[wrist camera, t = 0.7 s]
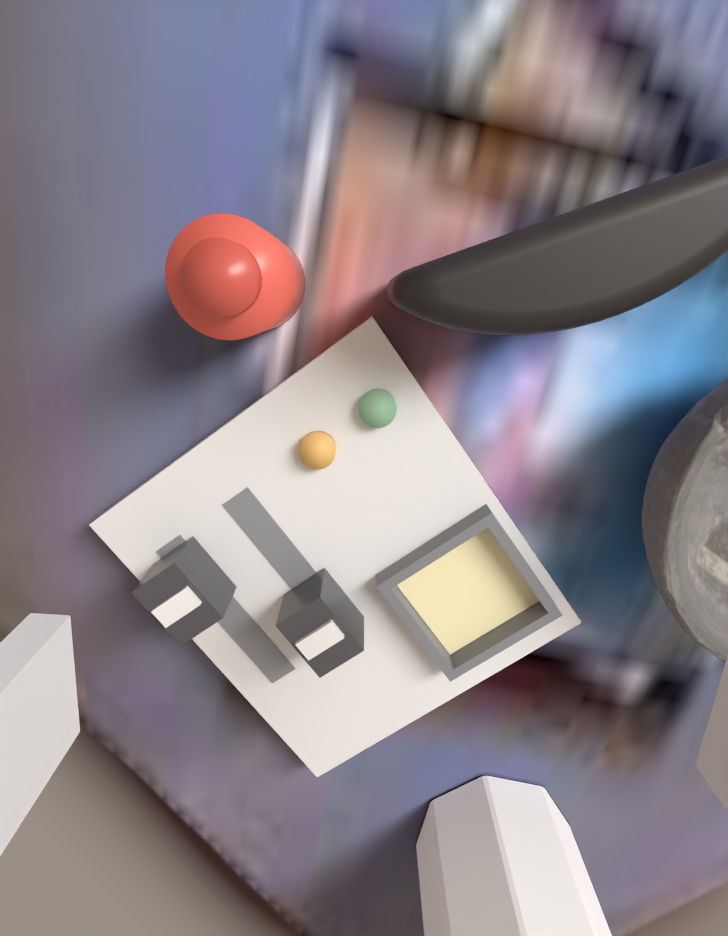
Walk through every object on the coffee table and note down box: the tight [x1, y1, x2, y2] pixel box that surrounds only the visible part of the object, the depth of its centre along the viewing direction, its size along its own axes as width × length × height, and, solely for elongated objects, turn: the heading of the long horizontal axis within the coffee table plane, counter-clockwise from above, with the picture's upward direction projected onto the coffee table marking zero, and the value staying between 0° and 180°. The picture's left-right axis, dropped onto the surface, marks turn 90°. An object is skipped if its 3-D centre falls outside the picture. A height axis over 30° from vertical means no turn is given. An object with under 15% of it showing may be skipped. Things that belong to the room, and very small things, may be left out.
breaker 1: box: [131, 536, 237, 646], centre depth 33 cm, size 4×3×4 cm
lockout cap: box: [165, 213, 305, 340], centre depth 28 cm, size 5×5×9 cm
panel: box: [89, 317, 582, 777], centre depth 35 cm, size 22×20×4 cm
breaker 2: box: [276, 568, 364, 678], centre depth 33 cm, size 4×3×4 cm
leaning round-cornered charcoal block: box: [387, 156, 728, 335], centre depth 27 cm, size 16×5×9 cm, turn 109°
